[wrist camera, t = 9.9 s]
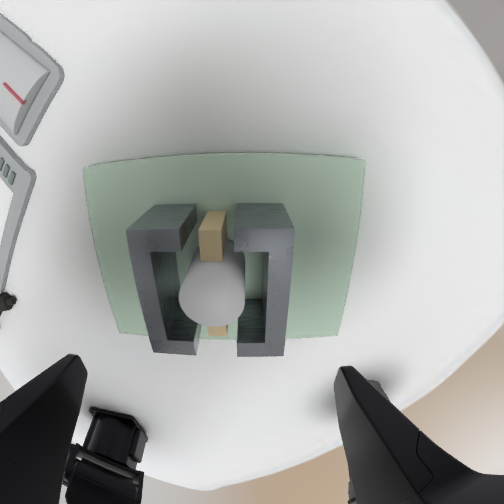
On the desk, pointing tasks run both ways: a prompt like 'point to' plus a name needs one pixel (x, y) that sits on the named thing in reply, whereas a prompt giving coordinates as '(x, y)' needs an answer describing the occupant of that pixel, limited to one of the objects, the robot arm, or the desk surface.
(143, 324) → the keyed post stand
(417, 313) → the desk surface
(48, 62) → the office telephone
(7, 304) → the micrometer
